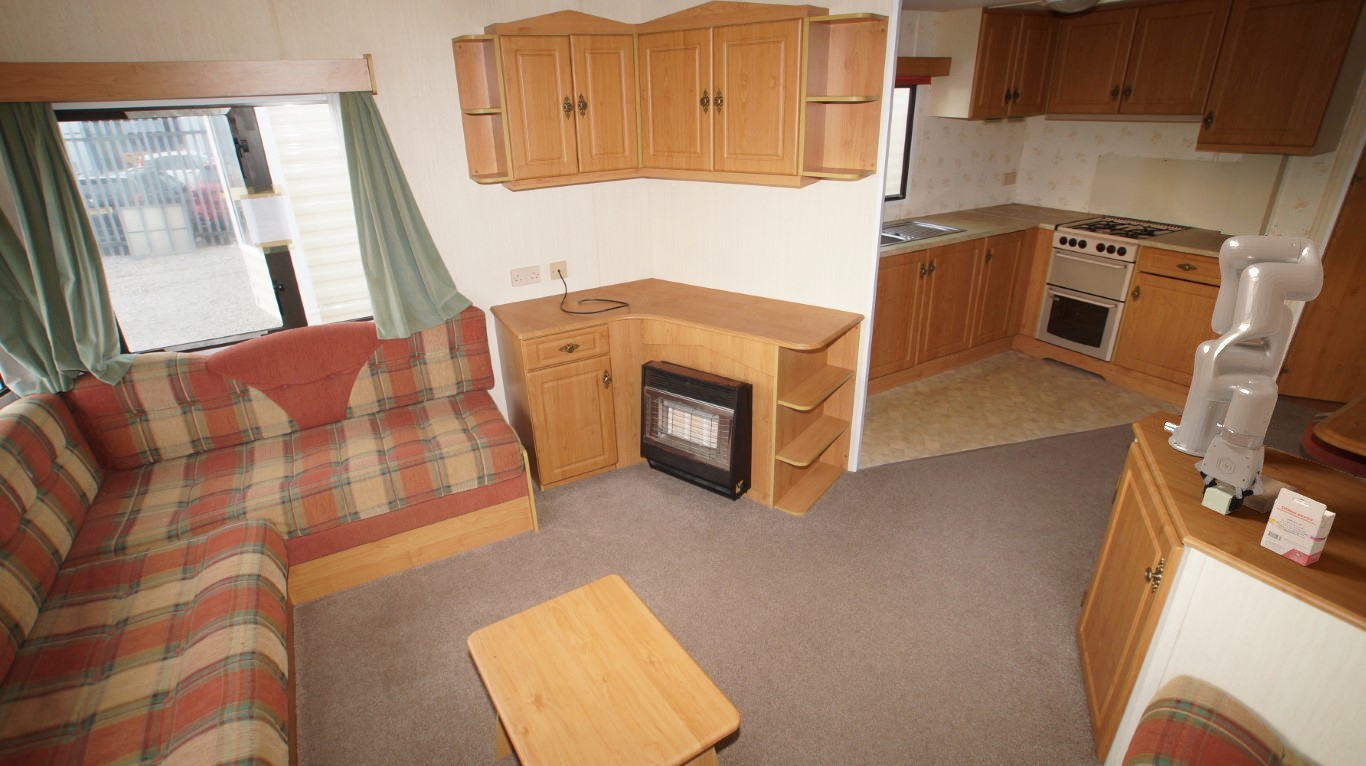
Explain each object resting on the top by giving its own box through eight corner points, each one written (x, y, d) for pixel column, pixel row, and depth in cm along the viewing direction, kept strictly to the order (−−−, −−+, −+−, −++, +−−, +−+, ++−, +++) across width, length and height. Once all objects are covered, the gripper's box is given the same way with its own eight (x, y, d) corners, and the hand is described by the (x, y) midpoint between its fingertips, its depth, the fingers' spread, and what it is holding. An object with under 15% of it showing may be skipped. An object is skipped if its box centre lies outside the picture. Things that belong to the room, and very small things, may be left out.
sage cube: (1201, 504, 160) (1206, 488, 158) (1214, 499, 162) (1219, 483, 160) (1224, 515, 155) (1229, 498, 154) (1237, 509, 157) (1242, 493, 156)
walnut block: (1207, 490, 166) (1211, 476, 164) (1236, 479, 170) (1241, 466, 169) (1262, 514, 156) (1267, 500, 154) (1292, 502, 160) (1297, 488, 159)
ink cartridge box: (1319, 561, 139) (1343, 501, 133) (1304, 567, 137) (1328, 507, 132) (1272, 539, 146) (1293, 481, 141) (1258, 544, 145) (1279, 486, 139)
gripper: (1192, 425, 157) (1173, 491, 164) (1275, 455, 143) (1251, 526, 150) (1212, 419, 160) (1192, 484, 167) (1295, 448, 145) (1270, 518, 152)
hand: (1220, 503), depth 158 cm, fingers closed on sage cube, 5 cm apart
